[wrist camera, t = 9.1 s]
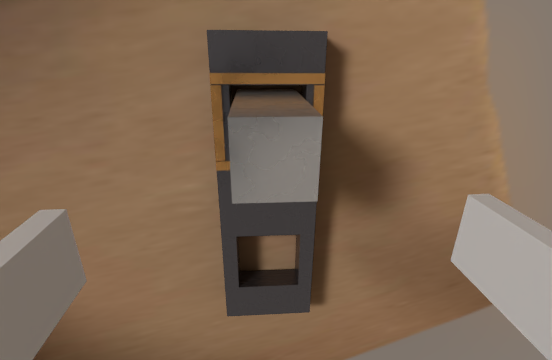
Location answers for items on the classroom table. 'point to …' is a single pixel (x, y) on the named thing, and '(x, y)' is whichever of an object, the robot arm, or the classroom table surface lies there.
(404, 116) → the classroom table surface
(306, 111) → the square gray post
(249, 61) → the peg insertion base
